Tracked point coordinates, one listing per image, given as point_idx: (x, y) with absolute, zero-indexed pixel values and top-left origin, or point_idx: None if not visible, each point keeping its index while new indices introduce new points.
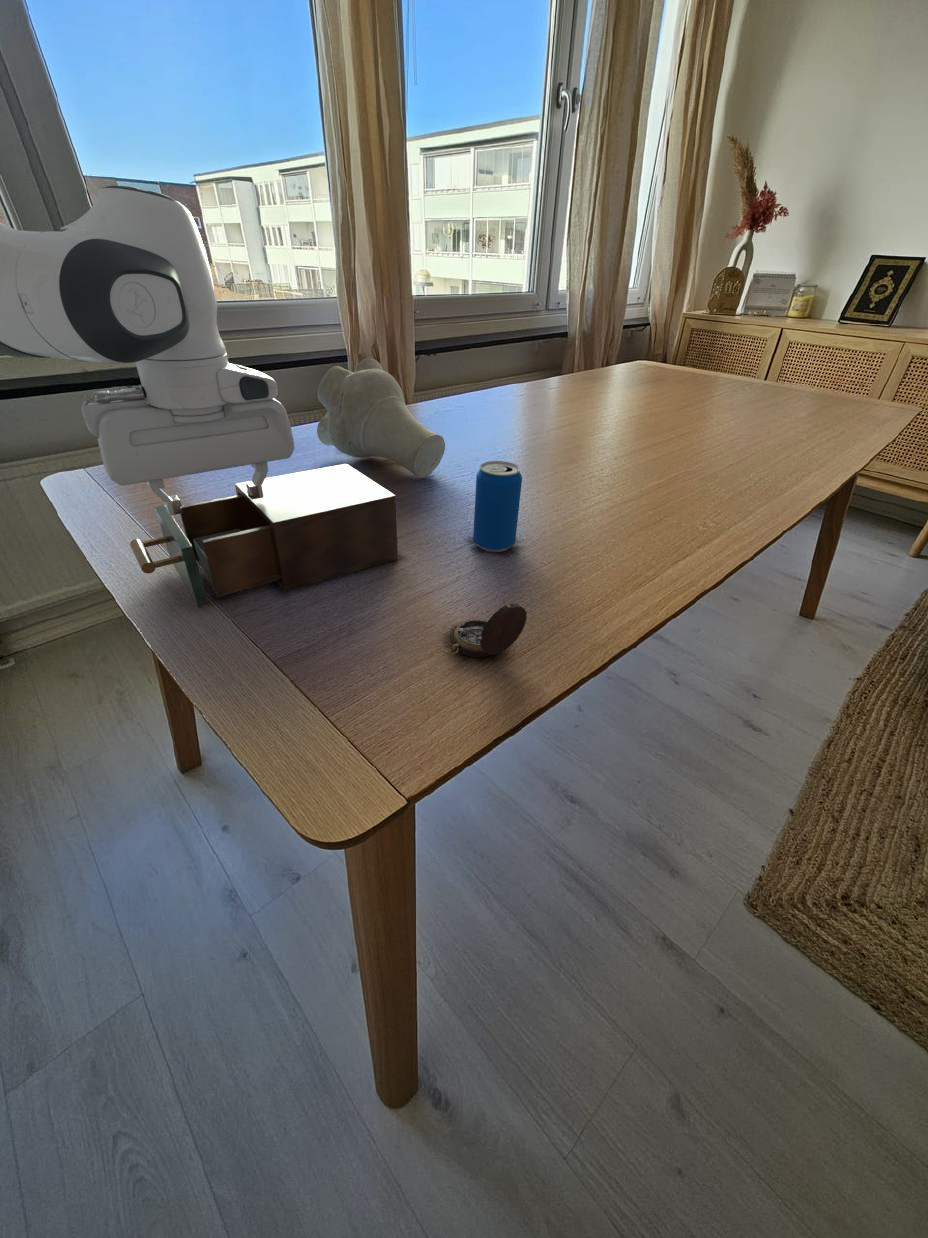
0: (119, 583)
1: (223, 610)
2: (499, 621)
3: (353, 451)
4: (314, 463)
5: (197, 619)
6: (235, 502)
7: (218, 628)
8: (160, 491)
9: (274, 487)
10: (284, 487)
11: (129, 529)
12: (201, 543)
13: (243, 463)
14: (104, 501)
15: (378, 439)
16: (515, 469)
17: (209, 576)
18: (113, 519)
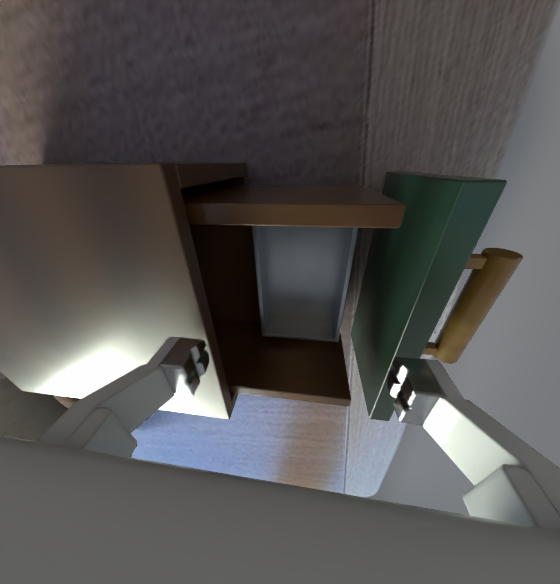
0: (436, 327)
1: (362, 161)
2: None
3: None
4: (154, 431)
5: (414, 154)
6: (246, 378)
7: (403, 87)
8: (511, 450)
9: None
10: (132, 365)
11: (360, 416)
12: (326, 332)
13: (107, 470)
14: (354, 459)
15: (38, 432)
16: None
17: None
18: (364, 435)
